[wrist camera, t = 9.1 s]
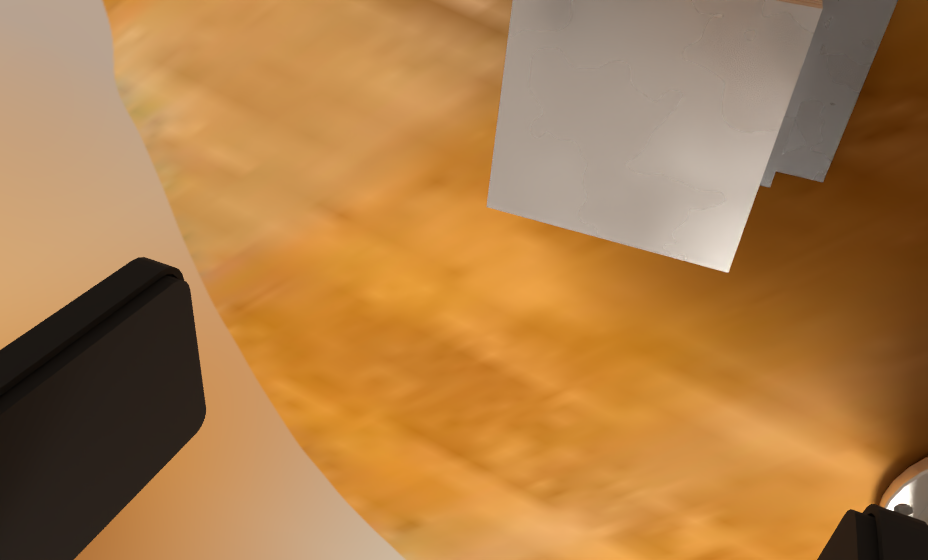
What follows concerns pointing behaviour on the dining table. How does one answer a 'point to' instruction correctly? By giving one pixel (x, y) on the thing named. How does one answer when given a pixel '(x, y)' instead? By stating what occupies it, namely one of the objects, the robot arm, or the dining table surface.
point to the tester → (828, 87)
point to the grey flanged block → (646, 116)
